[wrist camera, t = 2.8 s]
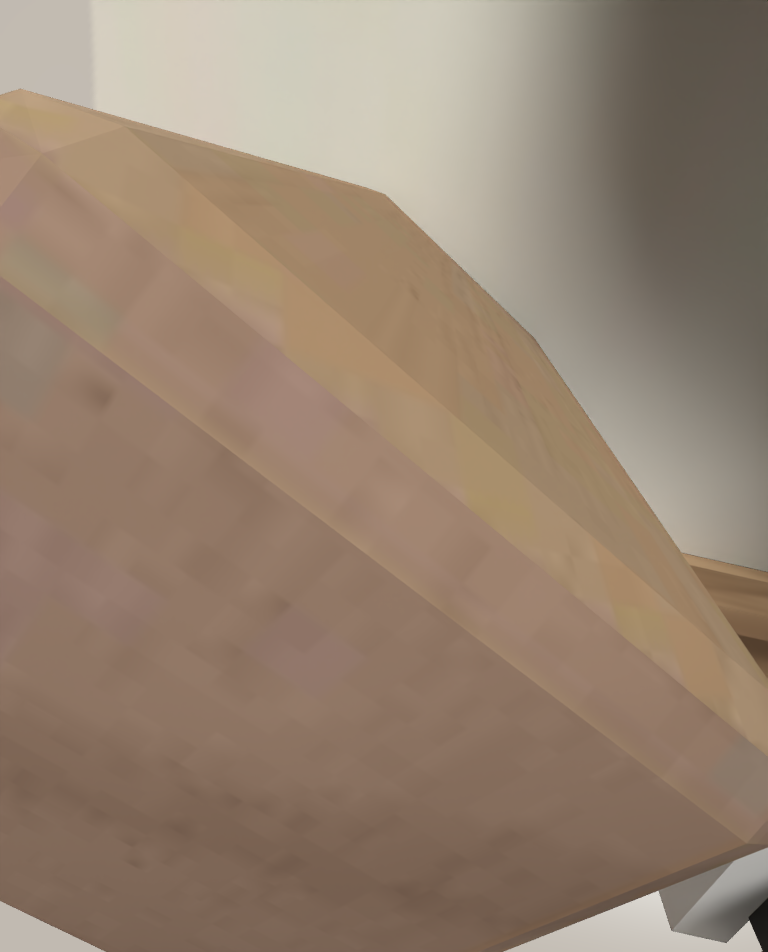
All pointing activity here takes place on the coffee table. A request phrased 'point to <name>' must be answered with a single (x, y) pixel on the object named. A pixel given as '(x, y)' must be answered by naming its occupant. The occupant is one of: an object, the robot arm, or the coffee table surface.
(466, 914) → the wooden block
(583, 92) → the coffee table surface
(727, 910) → the robot arm
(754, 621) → the crate
